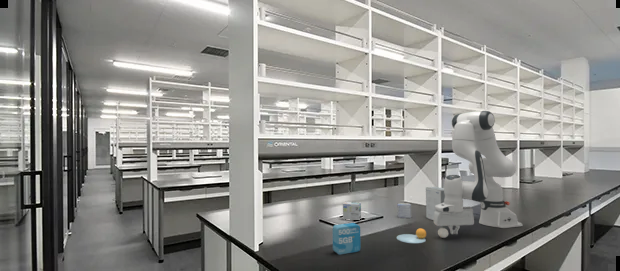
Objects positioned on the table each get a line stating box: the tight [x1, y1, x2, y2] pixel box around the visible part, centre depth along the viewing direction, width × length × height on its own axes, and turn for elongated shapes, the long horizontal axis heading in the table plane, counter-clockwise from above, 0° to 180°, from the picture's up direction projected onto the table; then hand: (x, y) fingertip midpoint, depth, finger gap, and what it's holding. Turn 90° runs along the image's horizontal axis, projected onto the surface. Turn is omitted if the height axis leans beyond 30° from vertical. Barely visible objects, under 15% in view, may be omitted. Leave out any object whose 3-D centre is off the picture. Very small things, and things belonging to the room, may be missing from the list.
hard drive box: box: [425, 186, 445, 221], centre depth 191 cm, size 16×8×20 cm, turn 13°
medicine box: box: [397, 202, 412, 219], centre depth 199 cm, size 8×4×9 cm, turn 84°
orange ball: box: [415, 228, 427, 239], centre depth 156 cm, size 5×5×5 cm
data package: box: [332, 222, 361, 256], centre depth 138 cm, size 12×4×12 cm, turn 112°
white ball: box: [437, 227, 449, 239], centre depth 157 cm, size 5×5×5 cm
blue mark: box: [396, 233, 427, 244], centre depth 155 cm, size 14×14×1 cm
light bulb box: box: [342, 201, 362, 221], centre depth 194 cm, size 11×7×11 cm, turn 71°
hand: (454, 233), depth 157 cm, fingers closed
